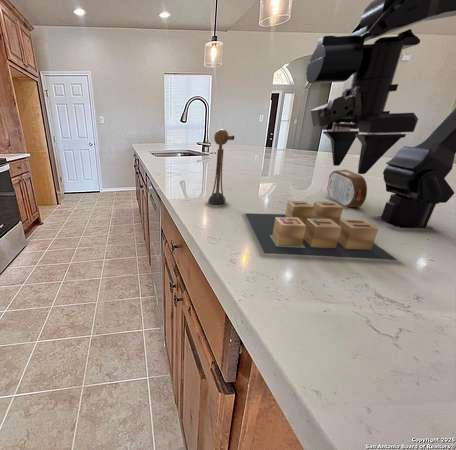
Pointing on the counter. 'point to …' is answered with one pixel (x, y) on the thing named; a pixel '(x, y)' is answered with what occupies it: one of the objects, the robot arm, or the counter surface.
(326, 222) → the front word
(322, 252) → the letter mat
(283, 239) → the s tile
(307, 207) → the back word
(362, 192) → the tin
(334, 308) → the counter surface
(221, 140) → the wooden tabletop sculpture
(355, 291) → the counter surface
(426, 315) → the counter surface
